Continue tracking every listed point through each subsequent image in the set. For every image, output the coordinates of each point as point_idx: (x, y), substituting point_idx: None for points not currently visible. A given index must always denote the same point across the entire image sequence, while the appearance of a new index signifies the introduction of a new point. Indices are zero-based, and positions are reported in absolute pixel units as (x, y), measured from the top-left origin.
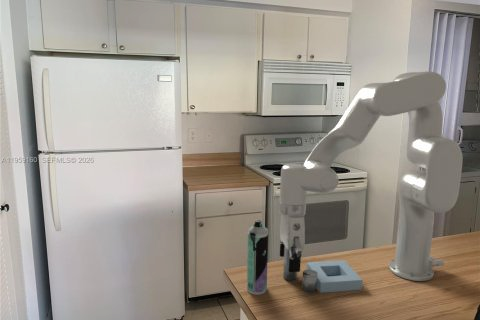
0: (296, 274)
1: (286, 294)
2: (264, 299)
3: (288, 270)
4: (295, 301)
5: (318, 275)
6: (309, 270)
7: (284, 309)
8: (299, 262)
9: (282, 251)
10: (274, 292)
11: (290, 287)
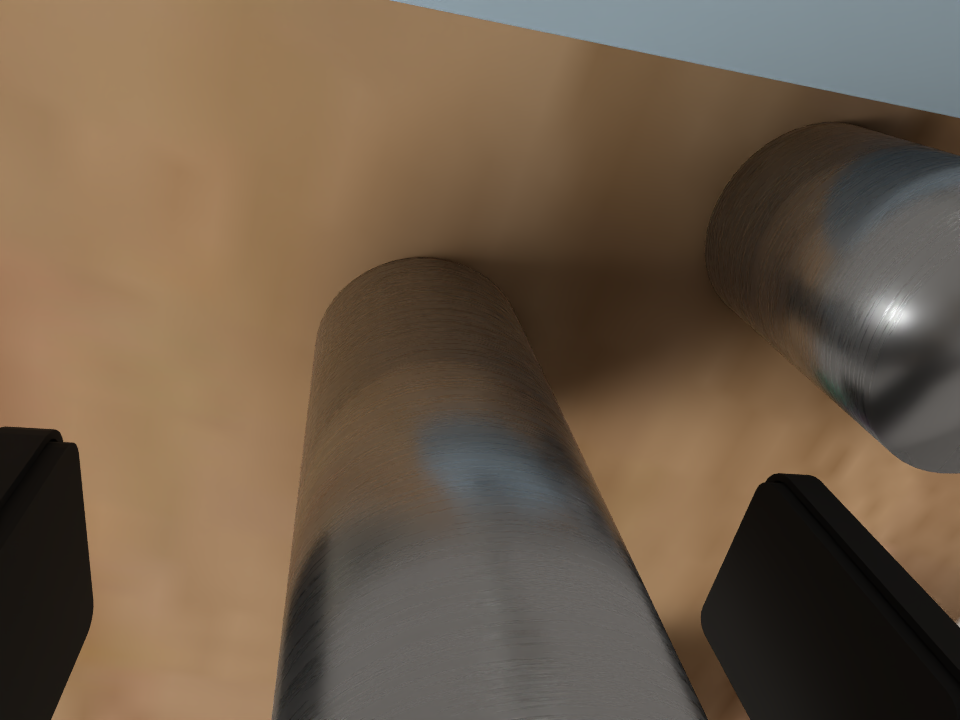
0: (520, 333)
1: (742, 509)
2: (711, 680)
3: (710, 634)
4: (891, 470)
5: (908, 43)
6: (935, 316)
7: (919, 583)
8: (936, 638)
9: (41, 705)
10: (654, 595)
11: (643, 430)
